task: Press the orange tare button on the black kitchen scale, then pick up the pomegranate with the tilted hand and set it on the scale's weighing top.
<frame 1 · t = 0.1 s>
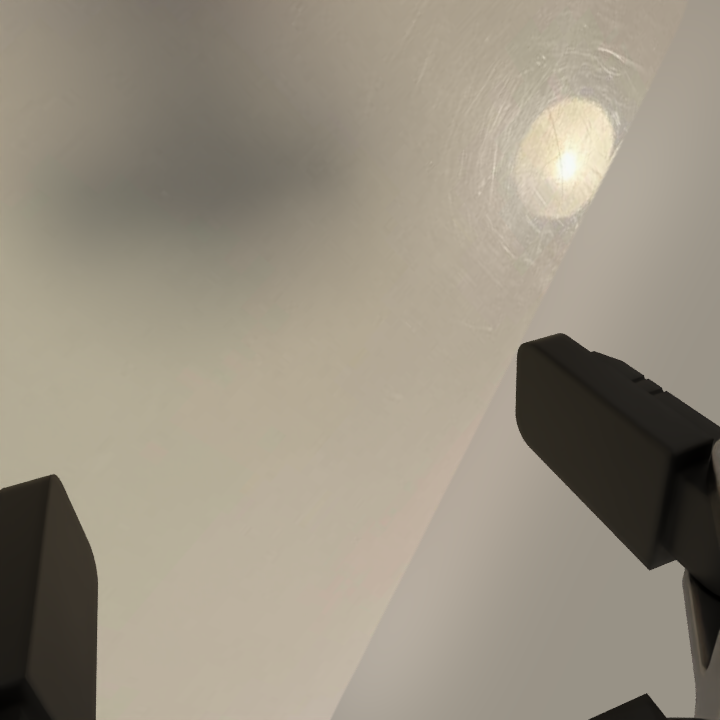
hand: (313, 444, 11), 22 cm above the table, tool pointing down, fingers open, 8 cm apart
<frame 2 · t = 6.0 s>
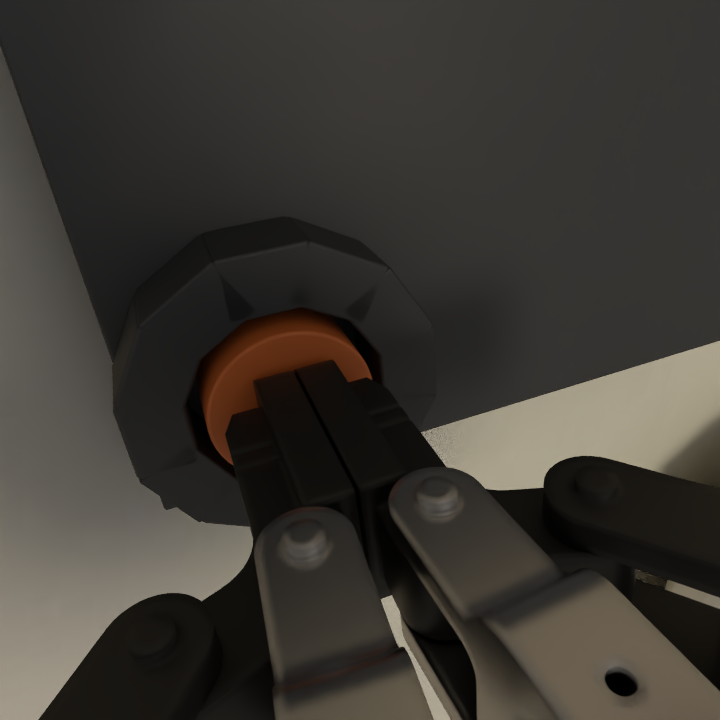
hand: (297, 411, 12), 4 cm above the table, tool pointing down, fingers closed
scale: (441, 112, 14), on the table
tare button: (284, 389, 12), point 3 cm above the table, slide at -0.8 cm, touching gripper
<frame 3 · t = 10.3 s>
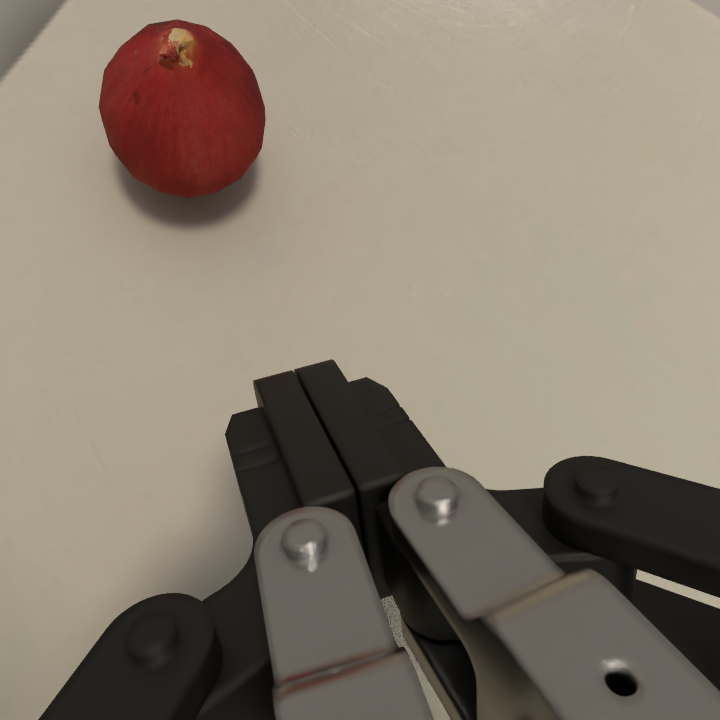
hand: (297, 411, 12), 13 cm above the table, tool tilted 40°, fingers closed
pomegranate: (190, 169, 27), on the table
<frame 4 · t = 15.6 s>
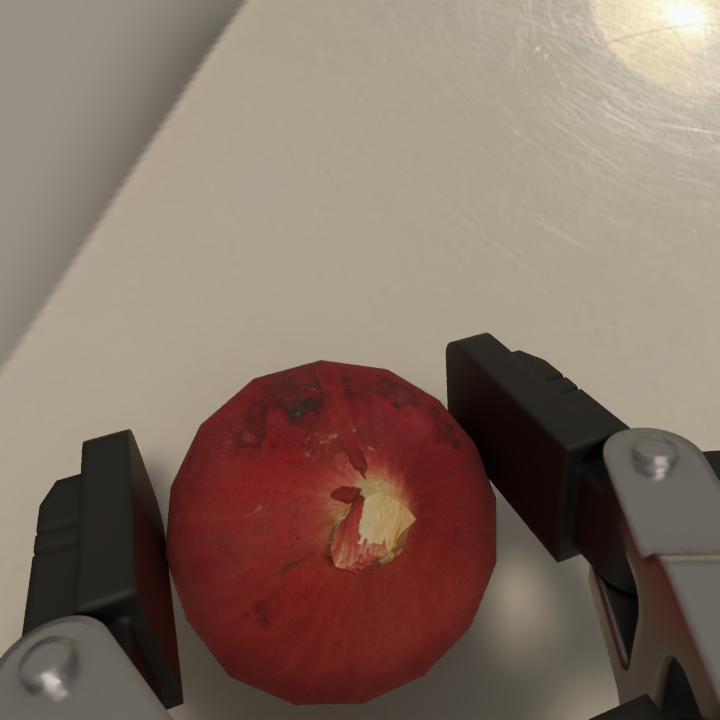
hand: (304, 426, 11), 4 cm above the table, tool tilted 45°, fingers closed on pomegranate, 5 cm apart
pomegranate: (312, 529, 15), on the table, touching gripper
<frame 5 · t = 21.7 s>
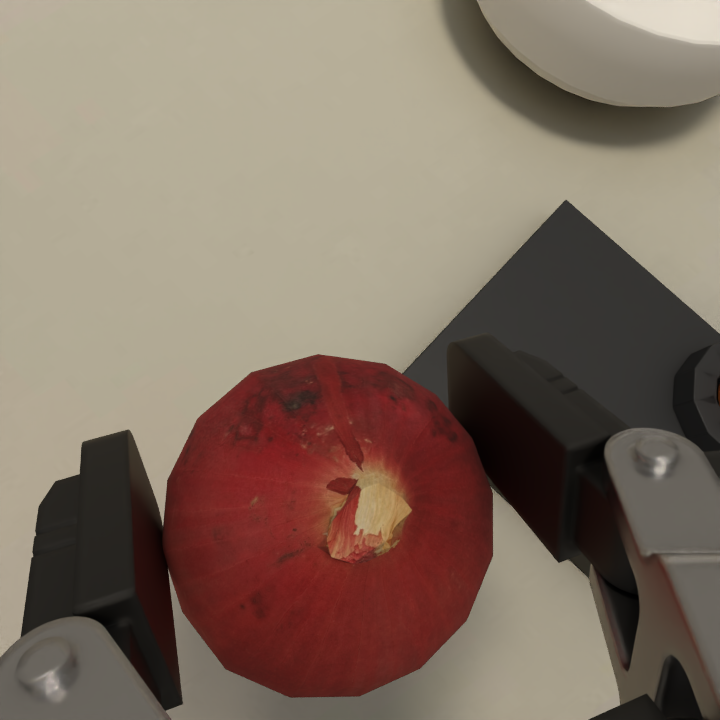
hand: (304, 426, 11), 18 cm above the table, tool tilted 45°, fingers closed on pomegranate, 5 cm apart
scale: (590, 402, 33), on the table
pomegranate: (309, 525, 15), point 14 cm above the table, touching gripper
bowl: (582, 21, 40), on the table
when the fingers open (6 cm above the table, at t = 27.8 s): pomegranate stays where it is, resting on scale.
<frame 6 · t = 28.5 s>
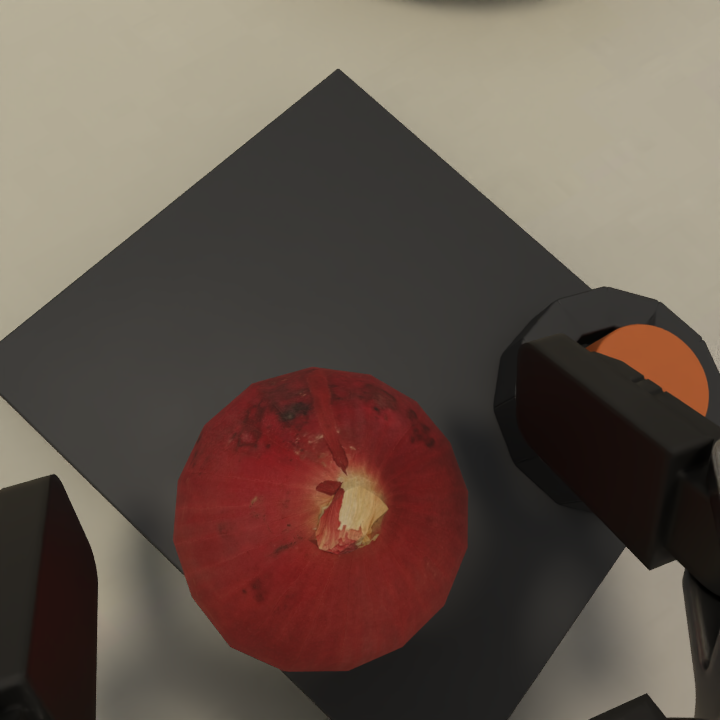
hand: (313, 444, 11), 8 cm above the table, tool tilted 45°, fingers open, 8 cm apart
scale: (368, 400, 19), on the table
pomegranate: (307, 519, 17), point 2 cm above the table, touching scale
tare button: (634, 390, 17), point 4 cm above the table, slide at 0.1 cm
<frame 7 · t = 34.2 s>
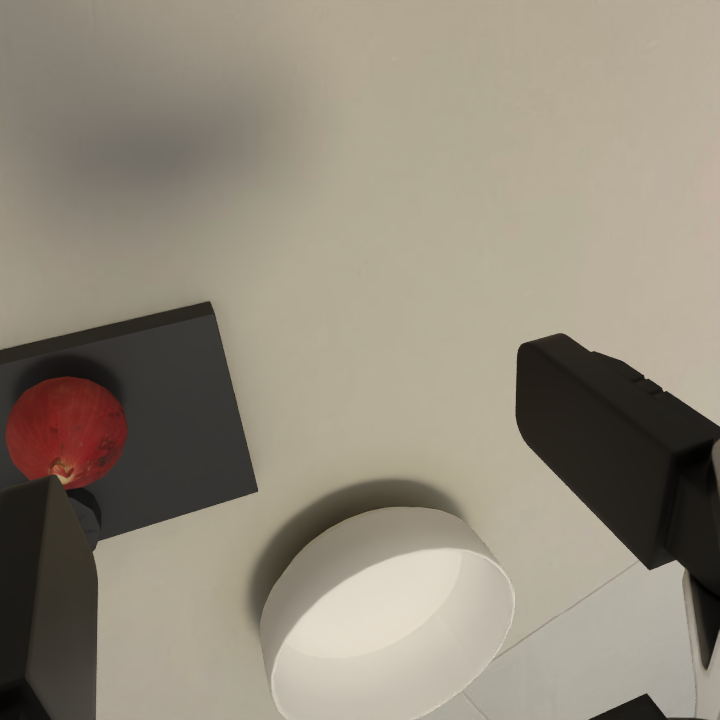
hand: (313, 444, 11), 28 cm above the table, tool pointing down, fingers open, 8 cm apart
scale: (110, 429, 40), on the table
pomegranate: (72, 395, 37), point 2 cm above the table, touching scale
bowl: (361, 565, 54), on the table
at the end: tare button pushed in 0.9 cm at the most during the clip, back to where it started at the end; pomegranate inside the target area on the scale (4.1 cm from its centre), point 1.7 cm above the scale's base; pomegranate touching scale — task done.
